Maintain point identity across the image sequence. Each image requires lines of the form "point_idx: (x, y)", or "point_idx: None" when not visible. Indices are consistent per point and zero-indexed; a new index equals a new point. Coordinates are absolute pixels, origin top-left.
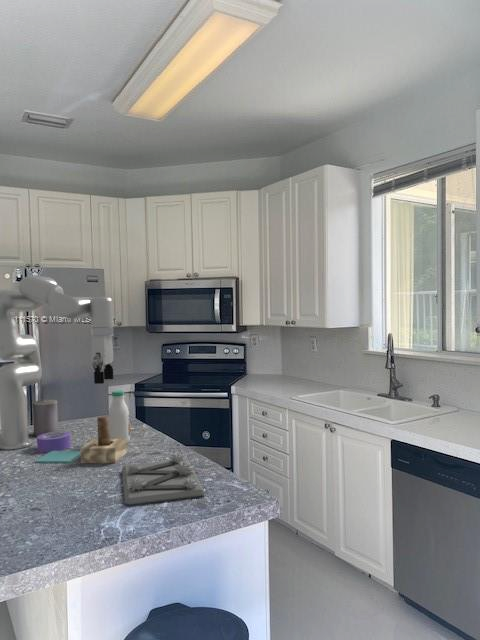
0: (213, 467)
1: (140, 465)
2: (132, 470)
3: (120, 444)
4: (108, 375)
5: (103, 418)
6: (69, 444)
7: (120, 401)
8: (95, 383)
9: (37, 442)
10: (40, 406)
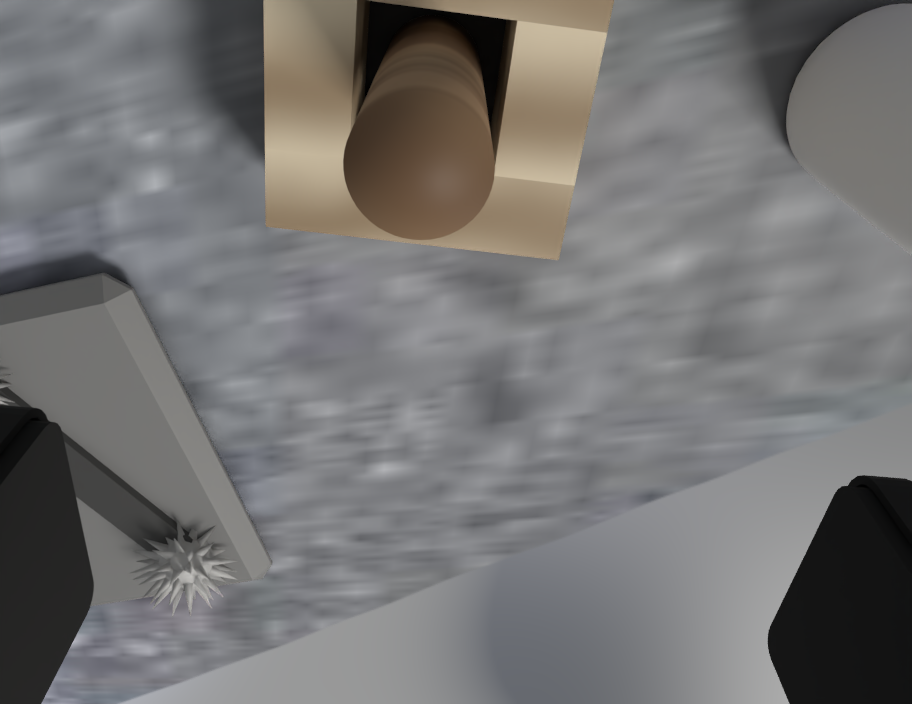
0: (228, 647)
1: (113, 388)
2: None
3: (402, 239)
4: (845, 656)
5: (375, 182)
6: None
7: None
8: (3, 419)
9: None
10: None
